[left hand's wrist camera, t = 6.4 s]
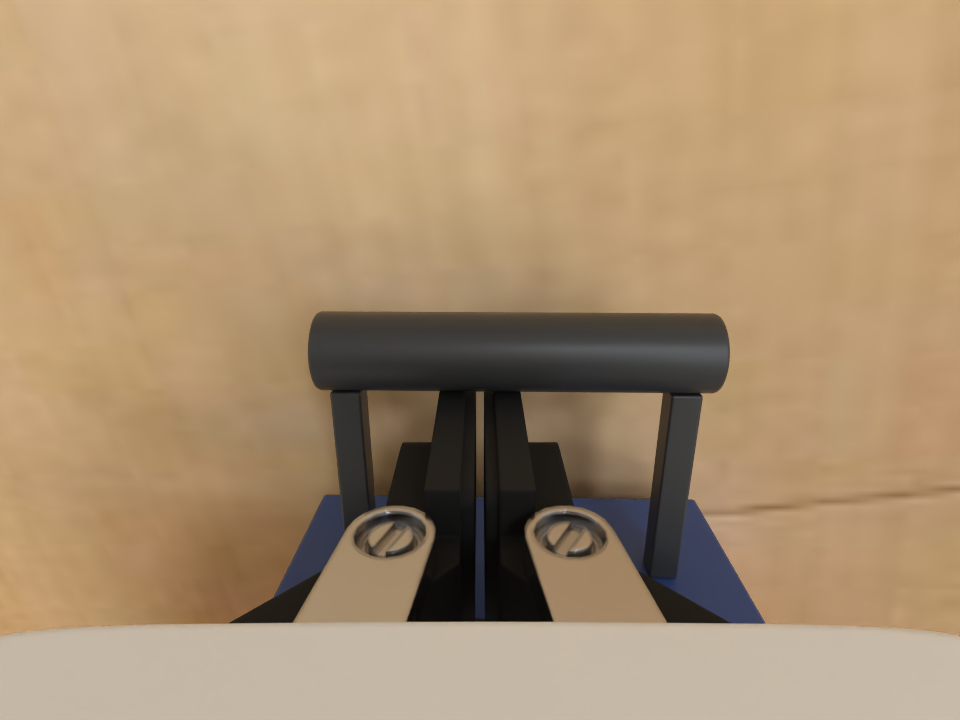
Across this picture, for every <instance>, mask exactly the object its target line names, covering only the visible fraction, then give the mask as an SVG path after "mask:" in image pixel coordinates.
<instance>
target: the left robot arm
mask: <svg viewBox="0 0 960 720" xmlns="http://www.w3.org/2000/svg"><path fill="white" fill-rule="evenodd" d="M475 571H476V391H440V393H439V400H438V406H437V412H436V419H435V425H434V431H433V437H432V442H404V443H402V446H401V449H400V453H399V457H398V461H397V465H396V469H395V472H394V476H393V480H392V484H391V488H390V492H389V496H388V500H387V504H386V507H380V508H376V509H373V510H371V511H368V512H366V513H364V514H362V515H361V516H359V517H358V518H356V519H355V520H354V521H353V522H352V523H351V524H350V525H349V527H348V528H347V529H346V531H345V533H344V534H343V536H342V538H341V540H340V541H339V543H338V545H337V547H336V548H335V550H334V552H333V553H332V555H331V557H330V559H329V560H328V562H327V564H326V566H325V567H324V569H323V570H322V571H320V572H319V573H317V574H315V575H313V576H312V577H310V578H308V579H306V580H304V581H303V582H301V583H299V584H297V585H296V586H294V587H292V588H290V589H289V590H287V591H285V592H283V593H281V594H280V595H278V596H276V597H274V598H273V599H271V600H269V601H267V602H266V603H264V604H262V605H260V606H258V607H257V608H255V609H253V610H251V611H250V612H248V613H246V614H244V615H243V616H241V617H239V618H237V619H235V620H234V621H232V622H230V623H224V624H140V625H113V626H86V627H63V628H53V629H43V630H33V631H23V632H16V633H11V634H5V635H0V720H960V635H955V634H949V633H944V632H937V631H927V630H917V629H907V628H897V627H874V626H847V625H820V624H736V623H730V622H728V621H726V620H725V619H723V618H721V617H719V616H717V615H716V614H714V613H712V612H710V611H709V610H707V609H705V608H703V607H702V606H700V605H698V604H696V603H694V602H693V601H691V600H689V599H687V598H686V597H684V596H682V595H680V594H679V593H677V592H675V591H673V590H671V589H670V588H668V587H666V586H664V585H663V584H661V583H659V582H657V581H655V580H654V579H652V578H650V577H648V576H647V575H645V574H643V573H641V572H640V571H638V570H637V569H636V567H635V566H634V564H633V562H632V560H631V559H630V557H629V555H628V553H627V552H626V550H625V548H624V547H623V545H622V543H621V541H620V540H619V538H618V536H617V534H616V533H615V531H614V529H613V528H612V527H611V525H610V524H609V523H608V522H607V521H606V520H605V519H604V518H602V517H601V516H599V515H598V514H596V513H594V512H592V511H589V510H587V509H584V508H580V507H574V504H573V500H572V496H571V492H570V488H569V484H568V480H567V476H566V473H565V469H564V465H563V461H562V457H561V453H560V449H559V446H558V443H556V442H528V437H527V431H526V425H525V419H524V412H523V406H522V400H521V393H520V392H504V391H484V573H485V622H475Z"/></svg>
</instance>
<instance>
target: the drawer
mask: <svg viewBox="0 0 960 720" xmlns="http://www.w3.org/2000/svg"><path fill="white" fill-rule="evenodd" d="M729 357H730V348H729V338H728V333H727V329H726V326H725V324H724V322H723V320H722V319H721V317H719V316H718V315H716V314H688V313H501V312H319V313H317V314H316V315H315V317H314V319H313V321H312V324H311V328H310V333H309V341H308V361H309V369H310V374H311V378H312V380H313V383H314V385H315V386H316V387H317V388H318V389H320V390H332V392H331V394H330V396H331V406H332V416H333V426H334V436H335V446H336V456H337V466H338V476H339V486H340V495H325V496H324V497H323V499H322V501H321V503H320V505H319V507H318V509H317V511H316V513H315V515H314V517H313V519H312V521H311V523H310V525H309V527H308V530H307V532H306V534H305V536H304V538H303V540H302V542H301V544H300V546H299V548H298V550H297V552H296V554H295V556H294V558H293V560H292V562H291V564H290V566H289V568H288V570H287V572H286V574H285V576H284V578H283V580H282V582H281V584H280V586H279V588H278V590H277V592H276V594H275V596H274V597H276V596H278V595H280V594H281V593H283V592H285V591H287V590H289V589H290V588H292V587H294V586H296V585H297V584H299V583H301V582H303V581H304V580H306V579H308V578H310V577H312V576H313V575H315V574H317V573H319V572H320V571H322V570H323V569H324V567H325V566H326V564H327V562H328V560H329V559H330V557H331V555H332V553H333V552H334V550H335V548H336V547H337V545H338V543H339V541H340V540H341V538H342V536H343V534H344V533H345V531H346V529H347V528H348V527H349V525H350V524H351V523H352V522H353V521H354V520H355V519H356V518H358V517H359V516H361V515H362V514H364V513H366V512H368V511H371V510H373V509H376V508H380V507H386V504H387V500H388V496H375V493H374V480H373V466H372V453H371V440H370V427H369V414H368V400H367V390H387V391H504V392H621V393H663V399H662V407H661V415H660V424H659V432H658V440H657V449H656V457H655V465H654V474H653V482H652V490H651V499H610V498H572V500H573V504H574V507H580V508H584V509H587V510H589V511H592V512H594V513H596V514H598V515H599V516H601V517H602V518H604V519H605V520H606V521H607V522H608V523H609V524H610V525H611V527H612V528H613V529H614V531H615V533H616V534H617V536H618V538H619V540H620V541H621V543H622V545H623V547H624V548H625V550H626V552H627V553H628V555H629V557H630V559H631V560H632V562H633V564H634V566H635V567H636V569H637V570H638V571H640V572H641V573H643V574H645V575H647V576H648V577H650V578H652V579H654V580H655V581H657V582H659V583H661V584H663V585H664V586H666V587H668V588H670V589H671V590H673V591H675V592H677V593H679V594H680V595H682V596H684V597H686V598H687V599H689V600H691V601H693V602H694V603H696V604H698V605H700V606H702V607H703V608H705V609H707V610H709V611H710V612H712V613H714V614H716V615H717V616H719V617H721V618H723V619H725V620H726V621H728V622H730V623H736V624H765V622H764V620H763V618H762V617H761V615H760V613H759V611H758V610H757V608H756V606H755V605H754V603H753V601H752V599H751V598H750V596H749V594H748V592H747V591H746V589H745V587H744V585H743V584H742V582H741V580H740V579H739V577H738V575H737V573H736V572H735V570H734V568H733V566H732V565H731V563H730V561H729V559H728V558H727V556H726V554H725V553H724V551H723V549H722V547H721V546H720V544H719V542H718V540H717V539H716V537H715V535H714V533H713V532H712V530H711V528H710V527H709V525H708V523H707V521H706V520H705V518H704V516H703V514H702V513H701V511H700V509H699V508H698V506H697V504H696V502H695V501H694V500H688V494H689V487H690V480H691V474H692V467H693V460H694V453H695V446H696V439H697V433H698V426H699V419H700V412H701V405H702V398H703V397H702V395H701V394H700V393H715V392H717V391H719V390H720V389H721V387H722V386H723V384H724V382H725V379H726V376H727V372H728V367H729ZM475 622H485V573H484V497H476V571H475Z"/></svg>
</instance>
